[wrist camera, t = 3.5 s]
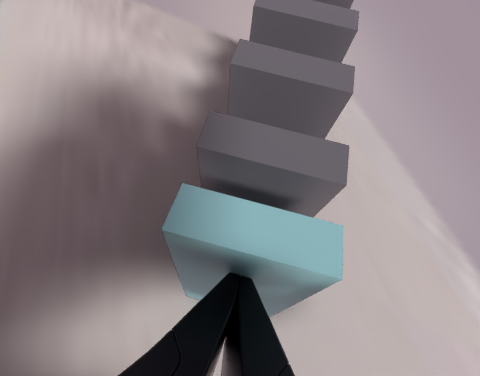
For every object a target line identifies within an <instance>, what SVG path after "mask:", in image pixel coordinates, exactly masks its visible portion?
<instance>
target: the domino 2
mask: <svg viewBox="0 0 480 376" xmlns="http://www.w3.org/2000/svg"><path fill="white" fill-rule="evenodd" d="M354 72H355V67H354V66H350V65H346V64H342V63H338V62H334V61H330V60H325V59H321V58H317V57H313V56H309V55H305V54H300V53H296V52H292V51H288V50H284V49H280V48H276V47H271V46H267V45H263V44H259V43H255V42H251V41H247V40H242V39H240V40H239V42H238V45H237V47H236V50H235V52H234V55H233V57H232V60H231V62H230V75H229V95H228V115H230V116H234V117H238V118H242V119H246V120H250V121H254V122H258V123H262V124H266V125H270V126H274V127H278V128H282V129H286V130H289V131H293V132H297V133H301V134H305V135H309V136H313V137H317V138H321V139H325V137H326V136H327V134H328V132H329V131H330V129H331V128H332V126H333V124H334V123H335V121H336V120H337V118H338V116H339V115H340V113H341V112H342V110H343V108H344V107H345V105H346V104H347V102H348V100H349V99H350V97H351V96H352V94H353V86H354Z"/></svg>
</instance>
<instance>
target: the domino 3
mask: <svg viewBox="0 0 480 376" xmlns="http://www.w3.org/2000/svg"><path fill="white" fill-rule="evenodd" d="M196 149H197V156H198V164H199V172H200V179H201V187H202V188H203V189H207V190H211V191H215V192H218V193H222V194H226V195H230V196H233V197H237V198H241V199H245V200H249V201H252V202H256V203H260V204H264V205H267V206H271V207H275V208H279V209H282V210H286V211H290V212H294V213H297V214H301V215H305V216H309V217H312V218H313V217H314V216H315V215H316V214H317V213H318V212H319V211H320V210H321V209H322V208H323V207H324V206H325V205H327V204H328V203H329V202H330V201H331V200H332V199H333V198H334V197H335V196H336V195H337V194H338V193H339V192H340V191H341V190H342V189H343V188H344V187H345V186H346V184H347V170H348V156H349V145H345V144H341V143H337V142H333V141H329V140H325V139H321V138H317V137H313V136H309V135H305V134H301V133H297V132H293V131H289V130H286V129H282V128H278V127H274V126H270V125H266V124H262V123H258V122H254V121H250V120H246V119H242V118H238V117H234V116H230V115H226V114H222V113H218V112H214V111H210V113H209V116H208V118H207V121H206V123H205V126H204V128H203V131H202V133H201V136H200V138H199V141H198V143H197V145H196Z"/></svg>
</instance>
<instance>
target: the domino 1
mask: <svg viewBox="0 0 480 376" xmlns="http://www.w3.org/2000/svg"><path fill="white" fill-rule="evenodd" d="M358 18H359V11H356V10H351V9H348V8H343V7H339V6H335V5H331V4H326V3H322V2H318V1H313V0H256V1H255V4H254V7H253V16H252V24H251V33H250V41H251V42H255V43H259V44H263V45H267V46H271V47H276V48H280V49H284V50H288V51H292V52H296V53H300V54H305V55H309V56H313V57H317V58H321V59H325V60H330V61H334V62H338V63H341V62H342V60H343V58H344V56H345V54H346V52H347V50H348V48H349V46H350V44H351V42H352V40H353V38H354V37H355V35H356V33H357V31H358Z"/></svg>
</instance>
